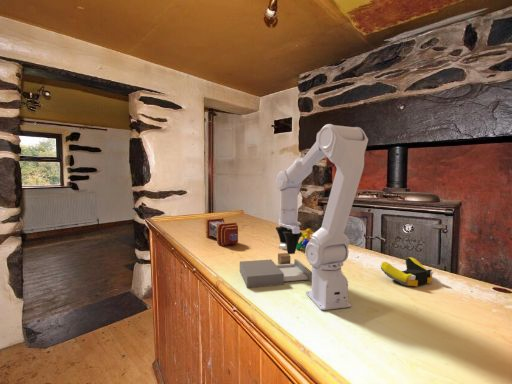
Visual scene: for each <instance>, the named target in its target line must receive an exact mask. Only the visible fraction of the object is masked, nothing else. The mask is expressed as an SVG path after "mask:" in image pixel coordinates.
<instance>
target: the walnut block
mask: <svg viewBox="0 0 512 384" xmlns="http://www.w3.org/2000/svg"><path fill="white" fill-rule="evenodd" d="M281 264H291V254H288V252H281V253H280V252H279V253H277V265H281Z"/></svg>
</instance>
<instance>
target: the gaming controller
mask: <svg viewBox="0 0 512 384" xmlns="http://www.w3.org/2000/svg"><path fill="white" fill-rule="evenodd" d="M405 266H406V269H405V270H400V269H398V268H396V267H394V266H393V265H392V264H391V263H389V262H387V261H382V262H381V264H380V270H381V271H382V272H383V273H384V274H385V275H386V276H387V277H388V278H390V279H392V280H393V281H396V282H398V283H399V284H400V285H402V286H405V287H420V286H423V285H427V284H432V280H433V274H434V271H433V270H432V269H427V268H426V267H425V266H423V264H422V263H421V262H420V261H418V260H417V259H416V258H414V257H411V256H410V257H406V259H405Z"/></svg>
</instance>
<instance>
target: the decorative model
mask: <svg viewBox="0 0 512 384" xmlns="http://www.w3.org/2000/svg"><path fill="white" fill-rule="evenodd" d="M301 233H302V235H301V237H302V238H301V237H300V238H301V240H300V241H298V243H297V249H296V251H297V250H301V249H306V246H307V244H308V242H309V241H310V240H311V237H310V236H312V234H314V233H315V232H313V231H312V228H307V229H305V231H302V232H301Z"/></svg>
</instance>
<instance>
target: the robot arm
mask: <svg viewBox="0 0 512 384" xmlns="http://www.w3.org/2000/svg"><path fill="white" fill-rule="evenodd" d="M315 140H316V141H315V142H314V144H313V145H312V146H311V148H310V149H309V150H308V151H307V153H306V154H305V155H304V157H296V158H295V159H294V162H293V163H292V164H291V165H290V166H289V167H288V168H287V169H286V170H281V171H279V172H278V173H277V175H276V179H275V183H276V186H277V187H276V188H278V189H279V218H278V226H276V227H275V230H276V232H277V234H278V238H279V243H281V242H286V245H287V251H286V253H288V254H289V255H295V254H296V251H297V249H296V247H297V243H298V242H300V241H299V240H300V239H301V235H302V232H301V230H300V229H301V228H300V226H301V225H302V224H301V222H300V221H298V204H299V203H298V198H299V197H298V196H299V195H300V189H301V187H302V184H303V181H304V180H305V179H306V178H307V177H309V176H310V174H312V172H313V167H314V166H316V164H318V163H319V162H320V161H321V160H322V159H324V158H327V159H328V160H329V162H331V163H332V164H334V167H336V171H335V175H334V178H333V182H332V186H331V189H330V193H329V197H328V201H327V204H326V208H325V212H324V216H323V219H322V223H321V227H319V229H317V230H316V231H315V232H313V233H314V234H312V235H310V236H311V237H310V241H309V242H308V244H307V246H306V248H305V249H304V251H305V257H306V260H307V262H308V263H309V265H310V266H311V272H312V281H311V290H306V291H305V294H306V295H307V296H308V297H309V299H311V301H312V302H313V303H314V304H315V305H316V306H317V308H319V310H321V311H327V310H334V309H335V310H336V309H341V308H343V309H344V308H350V307H352V306H351V304H350V303H349V302H348V301H349V298H348V297H349V281H348V278H347V277H346V276H345V275H344V273H343V271H342V267H343V266H344V262H345V261H347V260H348V258H349V244H350V239H349V237H348V236H347V235H346V234H345V230H346V227H347V223H348V220H349V216H350V213H351V210H352V207H353V204H354V200H355V197H356V194H357V191H358V188H359V184H360V182H361V178H362V175H363V171H364V167H365V152H366V150H367V147H368V146H367V145H368V142H369V138H368V137H367V135H366V133H365V131H364V129H362V128H361V127H359V126H354V127H353V126H344V125H335V124H332V123H327V124H324V126H323V127H322V128H320V130H319V131H318V132H317V133H316V139H315Z"/></svg>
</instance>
